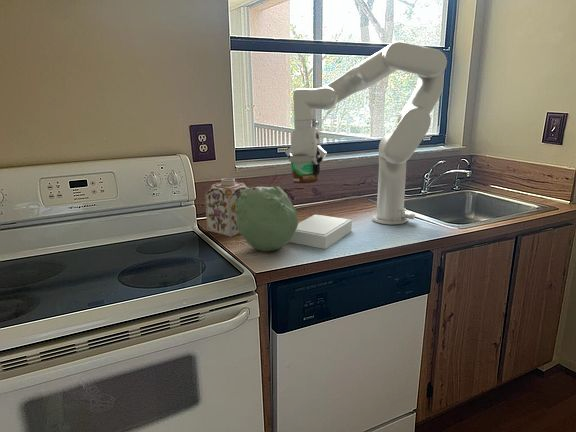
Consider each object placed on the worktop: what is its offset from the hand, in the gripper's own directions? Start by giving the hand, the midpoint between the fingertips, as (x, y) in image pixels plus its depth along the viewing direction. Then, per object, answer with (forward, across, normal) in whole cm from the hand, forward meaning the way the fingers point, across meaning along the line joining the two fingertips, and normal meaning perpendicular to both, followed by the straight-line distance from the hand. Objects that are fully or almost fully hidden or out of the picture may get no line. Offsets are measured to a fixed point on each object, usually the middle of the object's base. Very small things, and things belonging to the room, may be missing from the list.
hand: (306, 173), depth 164 cm
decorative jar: (+17, +17, +24) cm, 34 cm away
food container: (+3, -1, 0) cm, 3 cm away
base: (+17, -13, +16) cm, 27 cm away
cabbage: (+17, -5, +35) cm, 39 cm away
